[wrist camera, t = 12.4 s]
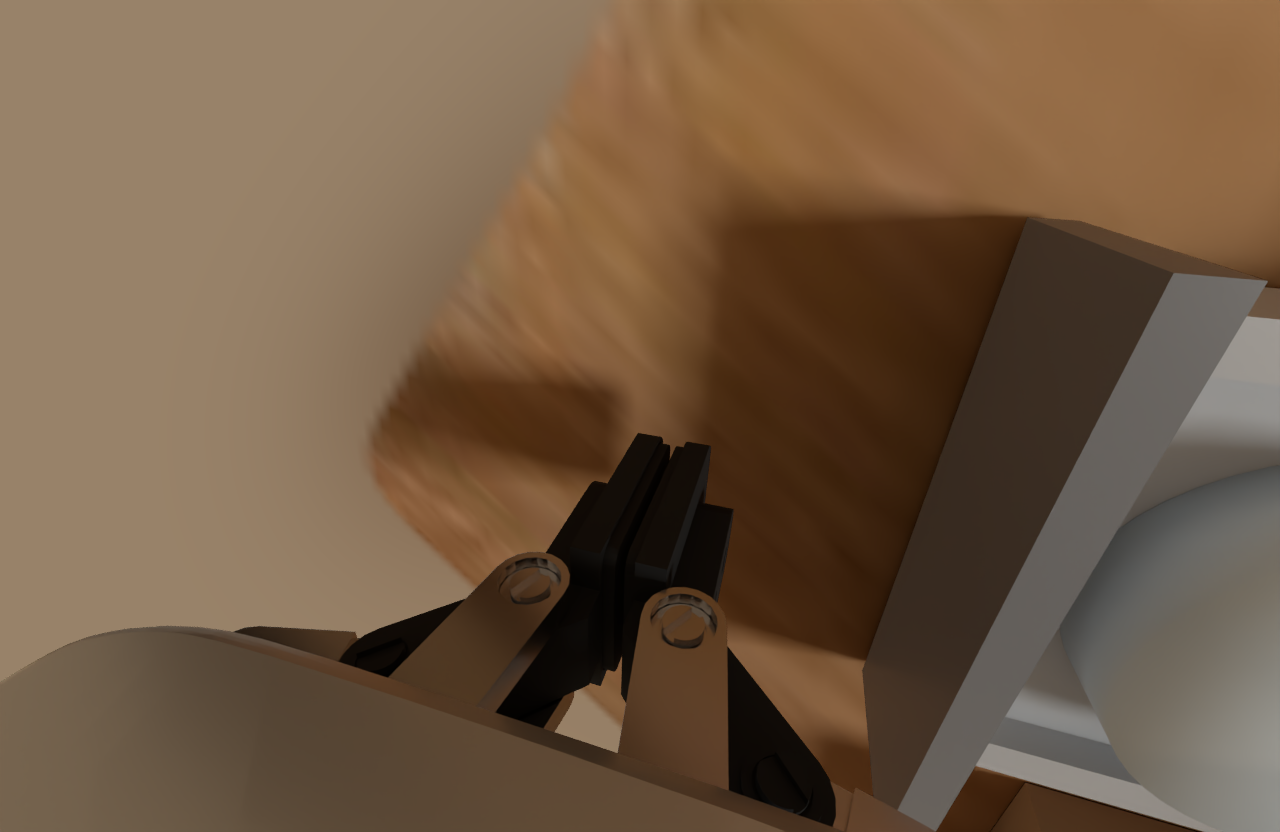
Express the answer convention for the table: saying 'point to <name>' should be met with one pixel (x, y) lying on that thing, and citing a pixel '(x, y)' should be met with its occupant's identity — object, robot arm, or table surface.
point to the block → (1070, 815)
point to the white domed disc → (1191, 650)
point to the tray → (1059, 505)
